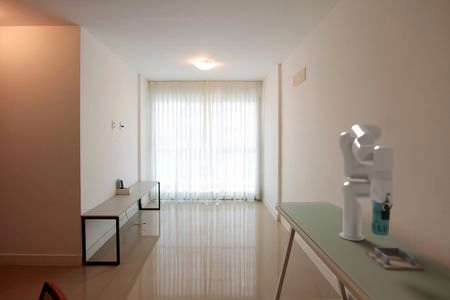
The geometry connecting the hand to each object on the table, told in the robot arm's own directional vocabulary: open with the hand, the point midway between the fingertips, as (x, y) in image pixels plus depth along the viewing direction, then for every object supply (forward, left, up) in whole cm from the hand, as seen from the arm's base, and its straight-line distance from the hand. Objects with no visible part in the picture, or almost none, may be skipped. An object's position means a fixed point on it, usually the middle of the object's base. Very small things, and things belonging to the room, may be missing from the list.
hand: (380, 216), depth 116 cm
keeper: (-7, +10, -22) cm, 25 cm away
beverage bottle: (0, 0, -9) cm, 9 cm away
